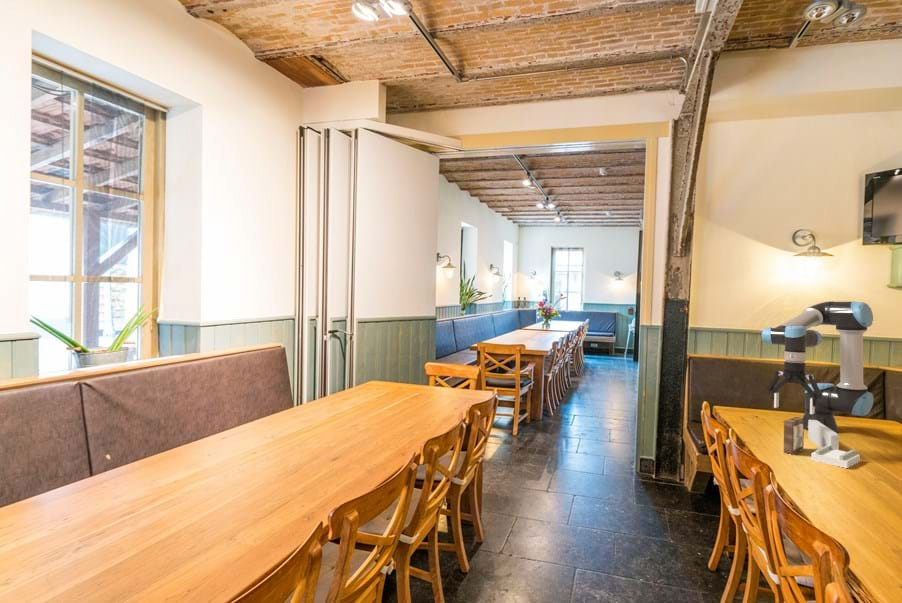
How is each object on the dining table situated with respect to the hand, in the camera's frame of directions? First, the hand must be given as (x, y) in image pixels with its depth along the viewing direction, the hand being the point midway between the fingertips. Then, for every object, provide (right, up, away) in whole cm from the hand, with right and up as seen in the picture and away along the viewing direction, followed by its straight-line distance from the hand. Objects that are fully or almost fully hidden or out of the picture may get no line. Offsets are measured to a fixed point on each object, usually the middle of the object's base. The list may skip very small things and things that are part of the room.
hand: (793, 410), depth 213 cm
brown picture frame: (0, -18, 0) cm, 18 cm away
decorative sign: (+18, -18, +8) cm, 27 cm away
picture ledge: (+9, -18, -12) cm, 23 cm away
